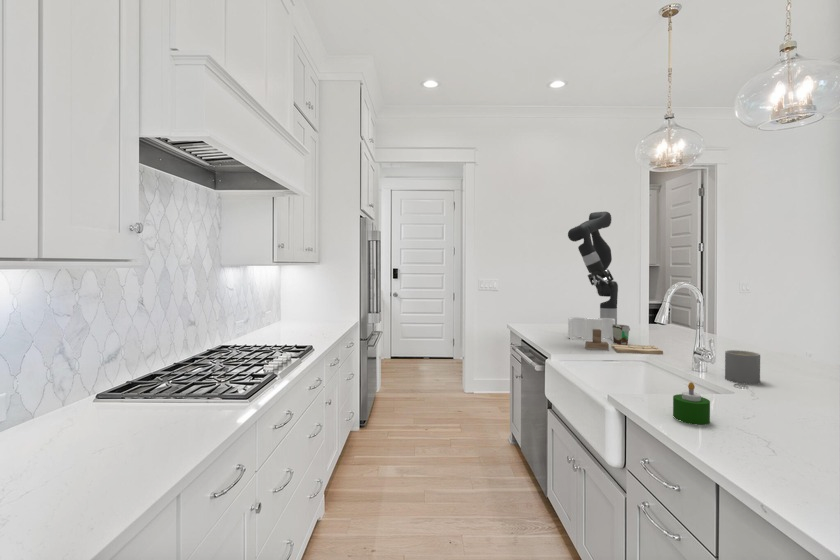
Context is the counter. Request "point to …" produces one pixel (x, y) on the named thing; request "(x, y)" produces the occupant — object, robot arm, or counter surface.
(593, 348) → the block
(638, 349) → the oak board
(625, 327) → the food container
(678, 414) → the candle
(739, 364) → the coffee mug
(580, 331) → the pale grey segmented block
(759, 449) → the counter surface
